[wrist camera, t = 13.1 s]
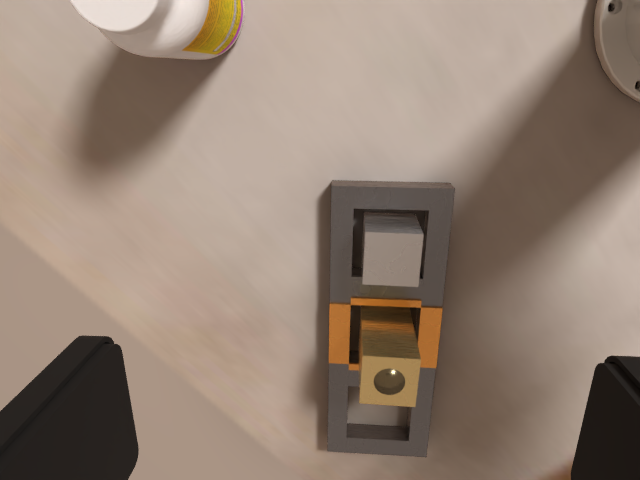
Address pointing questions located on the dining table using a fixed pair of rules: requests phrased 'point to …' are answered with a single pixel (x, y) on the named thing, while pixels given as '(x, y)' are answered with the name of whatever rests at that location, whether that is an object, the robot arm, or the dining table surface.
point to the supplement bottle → (167, 25)
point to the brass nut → (388, 356)
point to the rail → (353, 292)
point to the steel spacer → (391, 249)
